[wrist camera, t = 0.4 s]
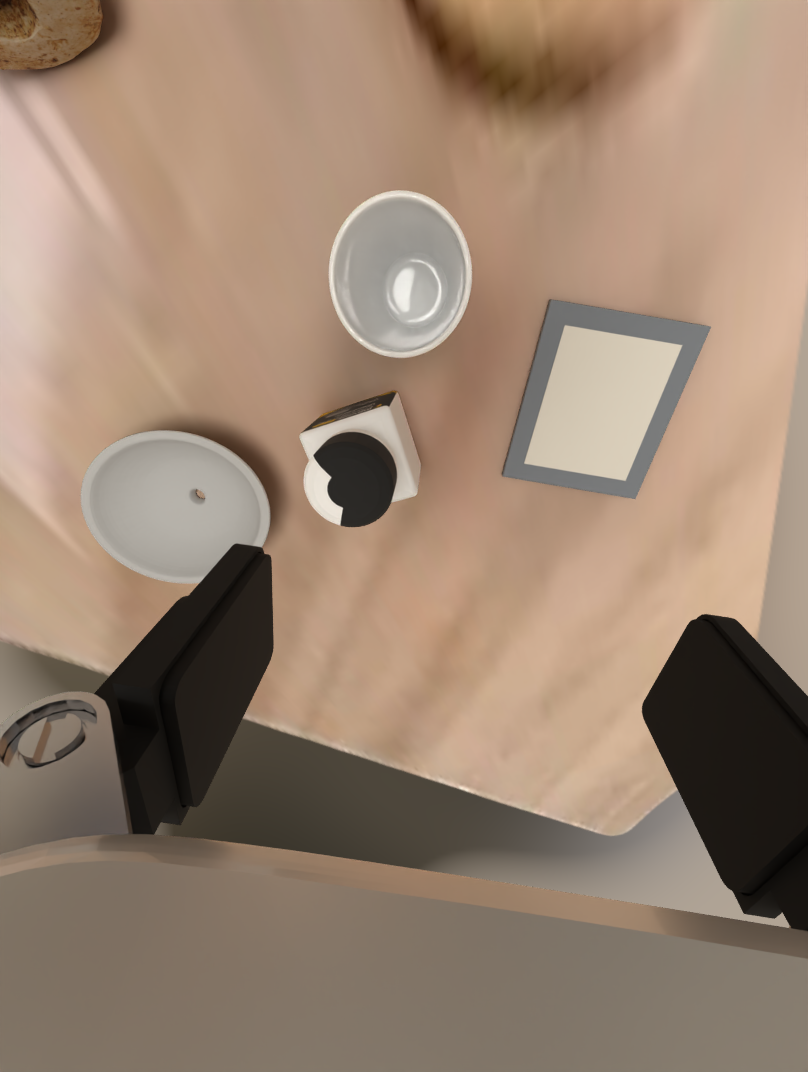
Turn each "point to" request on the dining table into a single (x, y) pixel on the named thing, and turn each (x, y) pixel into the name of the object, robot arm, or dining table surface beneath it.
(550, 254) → the dining table surface
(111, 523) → the dish
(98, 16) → the brown thick ring
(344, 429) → the medicine bottle
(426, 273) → the drinking glass
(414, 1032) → the robot arm
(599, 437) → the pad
